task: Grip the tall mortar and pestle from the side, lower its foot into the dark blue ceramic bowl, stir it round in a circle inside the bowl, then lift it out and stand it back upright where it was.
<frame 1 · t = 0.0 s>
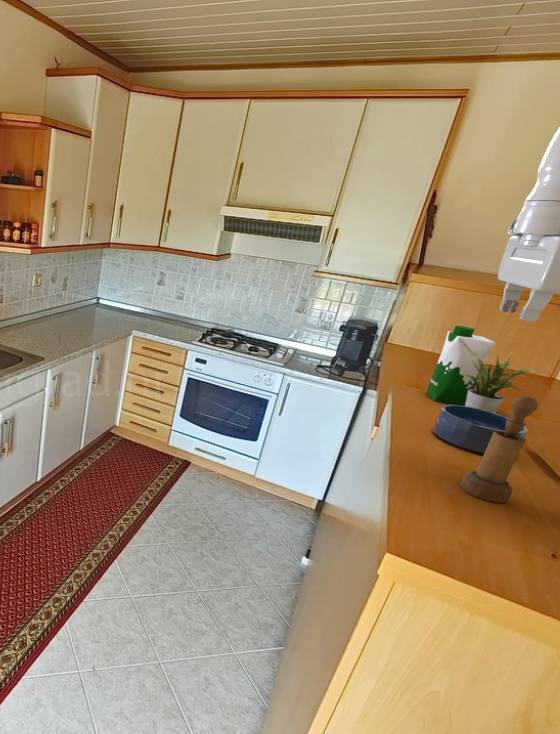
hand: (516, 316, 77), 30 cm above the worktop, tool pointing down, fingers open, 8 cm apart
milk carton: (445, 400, 133), on the worktop
bowl: (471, 443, 106), on the worktop
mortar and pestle: (482, 493, 85), on the worktop
house plant: (479, 420, 121), on the worktop
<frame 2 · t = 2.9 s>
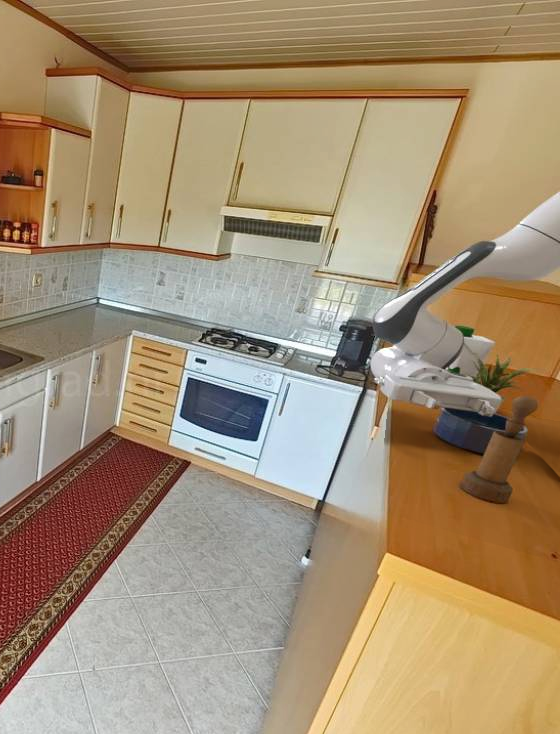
hand: (462, 408, 92), 11 cm above the worktop, tool horizontal, fingers open, 8 cm apart
nothing on the worktop moved.
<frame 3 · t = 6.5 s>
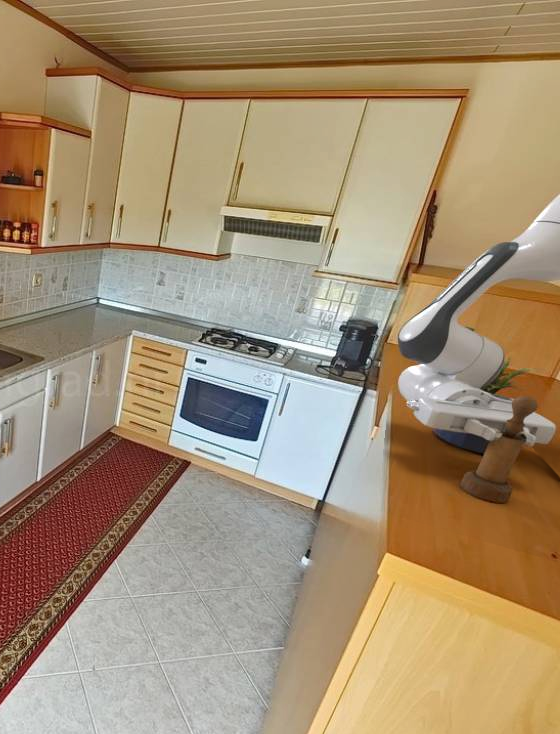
hand: (513, 439, 80), 11 cm above the worktop, tool horizontal, fingers closed on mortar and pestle, 4 cm apart
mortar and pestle: (482, 493, 85), on the worktop, touching gripper
everything else where it was.
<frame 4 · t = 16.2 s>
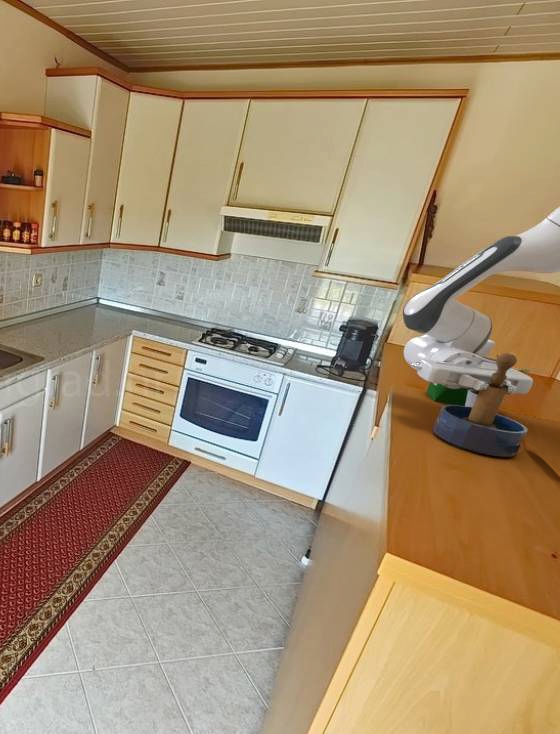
hand: (497, 388, 99), 13 cm above the worktop, tool horizontal, fingers closed on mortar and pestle, 4 cm apart
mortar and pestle: (473, 435, 104), point 2 cm above the worktop, touching gripper
everything else where it was.
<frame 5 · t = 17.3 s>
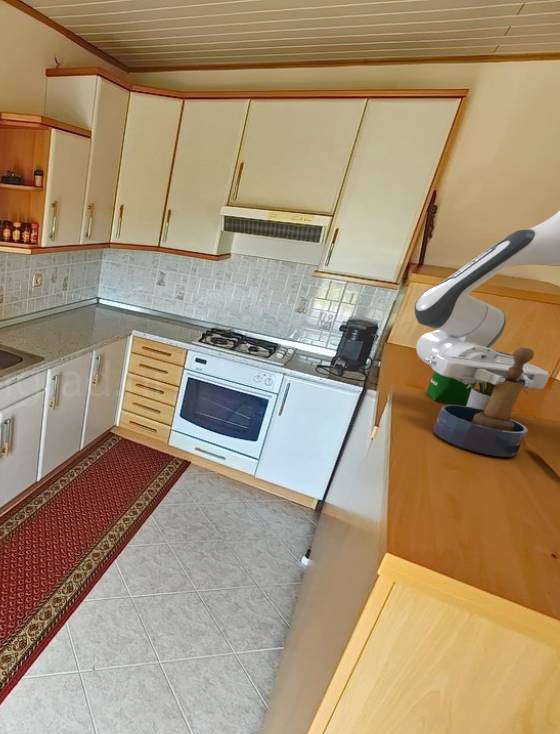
hand: (514, 383, 99), 15 cm above the worktop, tool horizontal, fingers closed on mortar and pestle, 4 cm apart
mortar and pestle: (489, 429, 104), point 4 cm above the worktop, touching gripper
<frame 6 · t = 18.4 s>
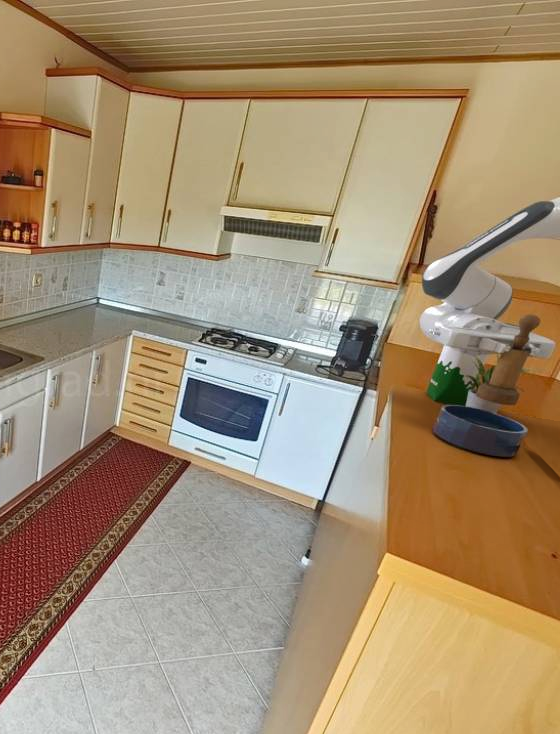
hand: (520, 351, 97), 21 cm above the worktop, tool horizontal, fingers closed on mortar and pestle, 4 cm apart
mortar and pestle: (494, 400, 102), point 10 cm above the worktop, touching gripper
when the fingers open (11 cm above the worktop, at t = 25.8 s): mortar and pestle stays where it is, on the worktop.
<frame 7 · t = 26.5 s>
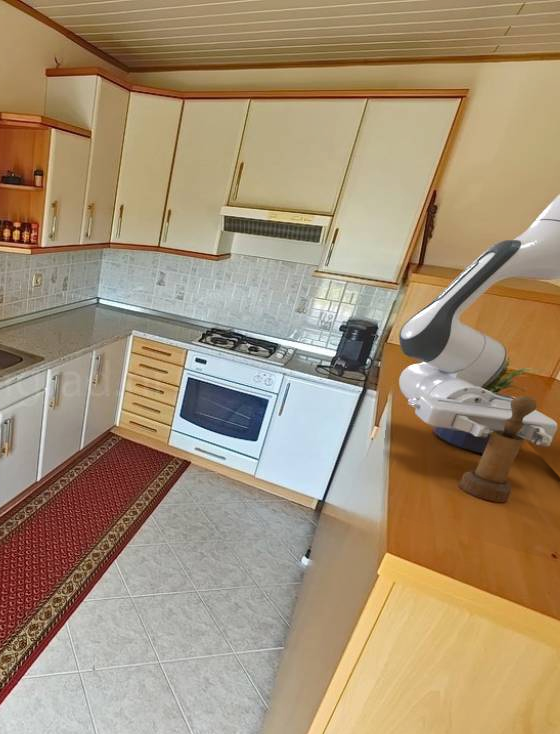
hand: (514, 437, 80), 11 cm above the worktop, tool horizontal, fingers open, 8 cm apart
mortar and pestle: (481, 493, 85), on the worktop
everything else where it was.
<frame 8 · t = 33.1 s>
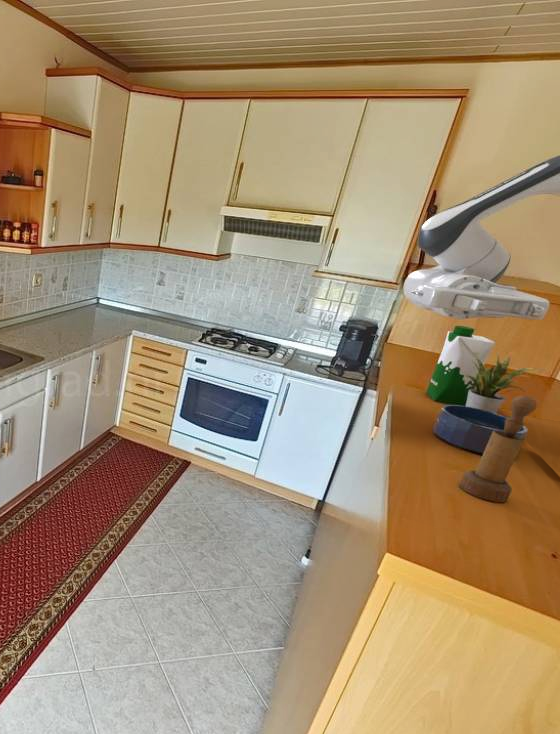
hand: (510, 309, 87), 30 cm above the worktop, tool horizontal, fingers open, 8 cm apart
nothing on the worktop moved.
at the end: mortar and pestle inside the target area on the worktop beside the bowl (0.1 cm from its centre), on the worktop; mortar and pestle tilted 0°; the gripper is holding nothing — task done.
